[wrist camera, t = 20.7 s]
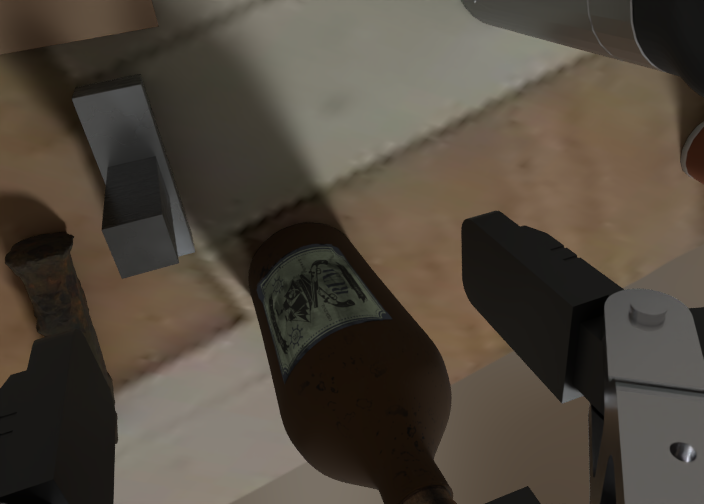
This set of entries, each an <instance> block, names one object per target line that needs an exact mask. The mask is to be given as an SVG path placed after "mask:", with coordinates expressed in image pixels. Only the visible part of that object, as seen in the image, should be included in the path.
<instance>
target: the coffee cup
mask: <svg viewBox="0 0 704 504" xmlns="http://www.w3.org/2000/svg"><path fill="white" fill-rule="evenodd" d="M680 162H681V166H682V170H683V172H685V173H686V174H687V175H688V176H689V177H692V178H694V179H696V180H697V181H699V182H701V183H703V184H704V121H703V122H702V123H701V124H699V125H698V126H697V127H696V128H695V129H694V131H693V132H692V133H691V134H690V136H689V137H688V138H687V141H686V143H685V145H684V147H683V149H682V154H681V161H680Z"/></svg>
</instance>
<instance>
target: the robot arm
mask: <svg viewBox="0 0 704 504" xmlns="http://www.w3.org/2000/svg"><path fill="white" fill-rule="evenodd" d="M462 2H463V4H464V6H465V7H466V9H467V10H468V11H469V12H470V13H471V14H472V15H473V16H474V17H475V18H477V19H478V20H480V21H481V22H483V23H486V24H489V25H493V26H496V27H500V28H503V29H507V30H511V31H514V32H517V33H521V34H524V35H528V36H532V37H535V38H539V39H543V40H547V41H550V42H554V43H558V44H561V45H565V46H569V47H572V48H576V49H580V50H584V51H587V52H591V53H595V54H598V55H602V56H606V57H609V58H613V59H617V60H621V61H625V62H629V63H633V64H636V65H640V66H644V67H648V68H651V69H655V70H659V71H662V72H667V73H670V74H674V75H677V76H680V77H681V78H682V79H683V80H684V81H685V82H686V83H687V85H688V86H689V87H690V88H692V89H693V90H694V91H695V92H696V93H698V94H699V95H701V96H702V97H704V0H462ZM461 234H462V280H463V286H464V289H465V292H466V295H467V297H468V299H469V301H470V302H471V304H472V305H473V306H474V307H475V308H476V309H477V311H478V312H479V313H480V314H481V315H482V316H483V317H484V318H485V319H486V320H487V322H488V323H489V324H490V325H491V326H492V327H493V328H494V329H495V330H496V331H497V333H498V334H499V335H500V336H501V337H502V338H503V339H504V340H505V341H506V342H507V344H508V345H509V346H510V347H511V348H512V349H513V350H514V351H515V352H516V353H517V355H518V356H519V357H520V358H521V359H522V360H523V361H524V362H525V363H526V364H527V366H528V367H529V368H530V369H531V370H532V371H533V372H534V373H535V374H536V375H537V376H538V378H539V379H540V380H541V381H542V382H543V383H544V384H545V385H546V386H547V387H548V389H549V390H550V391H551V392H552V393H553V394H554V395H555V396H556V397H557V399H558V400H559V401H560V402H561V403H565V402H568V401H570V400H573V399H576V398H578V397H581V396H584V397H585V398H586V399H587V400H588V401H589V402H590V406H589V414H588V423H589V468H590V469H589V470H590V471H589V474H590V503H589V504H704V307H702V308H688V307H687V306H685V305H684V304H683V303H682V302H681V301H679V300H678V299H676V298H674V297H672V296H670V295H667V294H665V293H662V292H659V291H654V290H649V289H627V290H624V289H623V288H621V287H620V286H618V285H617V284H616V283H614V282H613V281H612V280H610V279H609V278H608V277H606V276H605V275H603V274H602V273H601V272H599V271H598V270H597V269H595V268H594V267H592V266H591V265H590V264H588V263H587V262H586V261H584V260H583V259H582V258H577V255H576V254H575V253H573V252H572V251H571V250H569V249H568V248H564V245H562V244H561V243H560V242H558V241H557V240H556V239H554V238H553V237H551V236H550V235H549V234H547V233H545V232H542V231H539V230H536V229H533V228H531V227H528V226H521V227H520V226H518V225H517V224H516V223H515V222H513V221H512V220H511V219H509V218H508V217H507V216H505V215H504V214H503V213H501V212H500V211H493V212H489V213H486V214H482V215H479V216H475V217H472V218H468V219H465V220H464V221H463V224H462V230H461ZM115 428H116V414H115V406H114V401H113V398H112V394H111V391H110V388H109V386H108V384H107V382H106V380H105V378H104V376H103V373H102V371H101V369H100V367H99V365H98V363H97V361H96V359H95V357H94V355H93V353H92V351H91V348H90V346H89V344H88V342H87V340H86V338H85V336H84V334H83V333H82V332H81V330H80V329H78V328H77V329H73V330H69V331H66V332H62V333H59V334H55V335H52V336H48V337H45V338H41V339H37V340H35V341H34V343H33V346H32V350H31V355H30V359H29V363H28V368H27V370H26V371H23V372H20V373H16V374H13V375H10V377H9V378H8V379H7V381H6V382H5V383H4V385H3V386H2V387H1V388H0V504H113V499H114V463H115ZM485 504H540V502H539V501H538V499H537V498H536V497H535V495H534V494H533V492H532V491H531V490H530V488H529V487H528V486H527V487H524V488H522V489H520V490H517V491H515V492H512V493H510V494H507V495H505V496H503V497H500V498H498V499H495V500H493V501H490V502H488V503H485Z"/></svg>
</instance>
